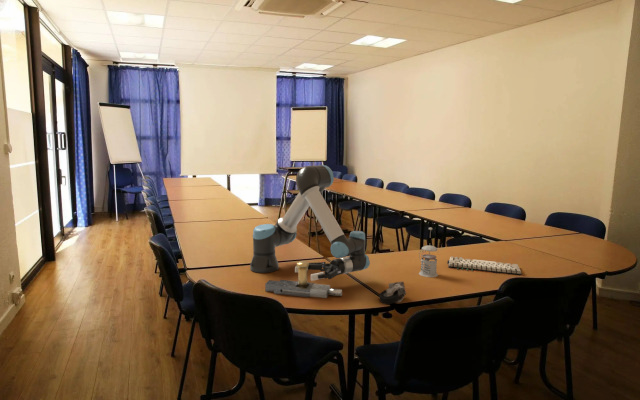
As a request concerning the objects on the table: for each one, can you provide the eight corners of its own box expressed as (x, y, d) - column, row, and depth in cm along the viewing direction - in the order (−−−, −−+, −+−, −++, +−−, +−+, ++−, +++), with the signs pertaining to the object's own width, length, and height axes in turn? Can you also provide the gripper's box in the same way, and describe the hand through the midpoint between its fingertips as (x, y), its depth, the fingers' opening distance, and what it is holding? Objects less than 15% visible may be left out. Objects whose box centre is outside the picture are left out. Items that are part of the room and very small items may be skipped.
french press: (427, 278, 209) (429, 229, 205) (412, 271, 219) (414, 225, 216) (442, 275, 213) (444, 228, 210) (426, 269, 224) (428, 224, 220)
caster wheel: (381, 309, 175) (380, 297, 185) (408, 306, 173) (406, 294, 183) (378, 295, 174) (377, 284, 183) (405, 292, 172) (403, 280, 181)
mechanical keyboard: (517, 267, 231) (518, 261, 231) (522, 277, 213) (523, 271, 213) (447, 260, 243) (447, 255, 243) (446, 270, 225) (446, 264, 225)
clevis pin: (294, 294, 185) (294, 264, 183) (298, 290, 191) (298, 260, 189) (306, 295, 184) (307, 265, 182) (310, 291, 189) (310, 261, 187)
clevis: (263, 292, 187) (263, 285, 186) (270, 286, 196) (270, 278, 195) (339, 300, 179) (339, 292, 178) (343, 293, 187) (343, 285, 187)
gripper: (357, 281, 187) (318, 289, 176) (326, 267, 208) (289, 274, 196) (357, 265, 186) (318, 272, 175) (326, 252, 207) (289, 258, 195)
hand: (302, 273), depth 186 cm, fingers open, 13 cm apart
